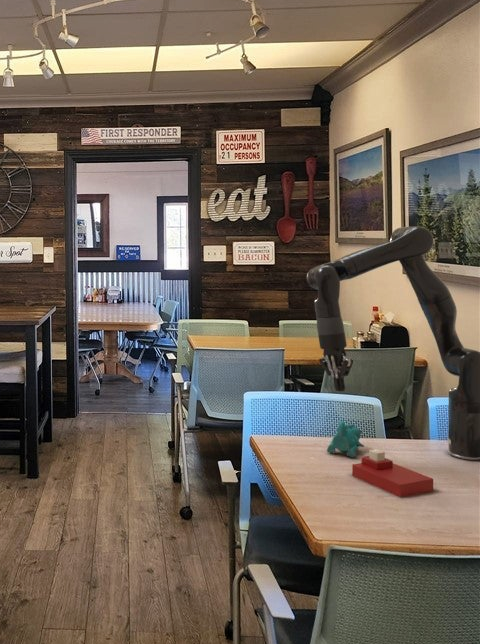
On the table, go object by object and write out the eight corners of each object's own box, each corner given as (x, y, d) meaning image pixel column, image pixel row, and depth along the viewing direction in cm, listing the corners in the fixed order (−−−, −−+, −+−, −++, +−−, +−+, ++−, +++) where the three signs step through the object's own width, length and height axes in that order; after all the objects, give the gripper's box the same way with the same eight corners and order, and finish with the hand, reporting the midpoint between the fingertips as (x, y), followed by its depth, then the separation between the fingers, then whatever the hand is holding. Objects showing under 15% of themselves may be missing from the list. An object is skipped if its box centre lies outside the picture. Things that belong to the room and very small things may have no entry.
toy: (352, 466, 184) (381, 440, 191) (332, 430, 185) (361, 405, 193) (328, 466, 193) (356, 441, 200) (308, 431, 194) (337, 408, 202)
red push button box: (384, 470, 176) (384, 453, 176) (433, 491, 162) (433, 471, 162) (352, 475, 172) (352, 457, 172) (399, 497, 157) (400, 477, 157)
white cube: (376, 458, 173) (376, 449, 173) (384, 461, 171) (384, 452, 171) (369, 459, 172) (369, 450, 172) (377, 462, 170) (377, 453, 170)
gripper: (356, 330, 178) (366, 391, 176) (327, 330, 191) (336, 387, 189) (335, 333, 176) (344, 395, 174) (306, 333, 188) (315, 390, 186)
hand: (340, 390), depth 181 cm, fingers closed
